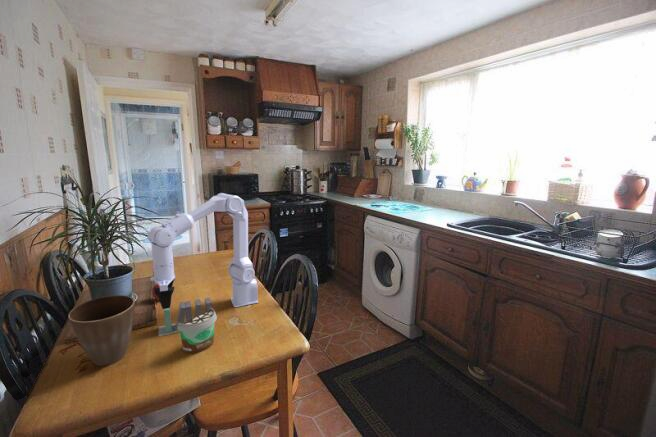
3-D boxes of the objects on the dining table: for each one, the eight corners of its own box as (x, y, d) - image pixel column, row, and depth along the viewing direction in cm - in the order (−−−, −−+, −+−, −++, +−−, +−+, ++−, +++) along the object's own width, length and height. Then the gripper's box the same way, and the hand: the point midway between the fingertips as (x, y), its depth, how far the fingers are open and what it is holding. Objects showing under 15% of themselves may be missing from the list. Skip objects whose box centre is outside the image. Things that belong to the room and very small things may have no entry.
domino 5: (210, 317, 113) (209, 297, 111) (212, 323, 109) (211, 302, 107) (206, 318, 112) (204, 298, 110) (207, 324, 108) (206, 303, 107)
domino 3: (191, 321, 110) (190, 300, 108) (192, 328, 106) (191, 306, 105) (186, 322, 109) (185, 301, 108) (187, 329, 105) (186, 307, 104)
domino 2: (181, 323, 109) (185, 302, 108) (182, 330, 105) (186, 307, 104) (176, 324, 108) (180, 302, 107) (177, 330, 104) (180, 307, 103)
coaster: (178, 323, 109) (178, 322, 109) (179, 332, 104) (179, 331, 104) (158, 327, 106) (158, 326, 106) (158, 336, 101) (158, 336, 101)
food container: (191, 361, 89) (189, 330, 87) (178, 354, 93) (176, 323, 91) (226, 340, 100) (225, 311, 98) (213, 334, 103) (212, 306, 101)
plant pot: (133, 369, 86) (127, 316, 82) (67, 381, 81) (57, 325, 77) (144, 339, 99) (139, 292, 96) (87, 348, 94) (80, 299, 91)
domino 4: (201, 319, 111) (200, 299, 110) (202, 325, 108) (201, 304, 106) (196, 320, 111) (195, 299, 109) (197, 326, 107) (196, 305, 105)
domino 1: (171, 325, 107) (169, 303, 105) (171, 332, 103) (169, 309, 102) (166, 326, 106) (164, 304, 105) (166, 333, 102) (164, 310, 101)
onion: (162, 304, 122) (160, 284, 120) (149, 302, 123) (147, 283, 121) (172, 297, 128) (170, 279, 126) (159, 295, 129) (158, 277, 127)
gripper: (151, 257, 105) (154, 295, 107) (146, 273, 92) (150, 315, 95) (174, 255, 107) (177, 292, 110) (173, 270, 95) (176, 311, 97)
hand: (166, 302), depth 103 cm, fingers open, 7 cm apart
